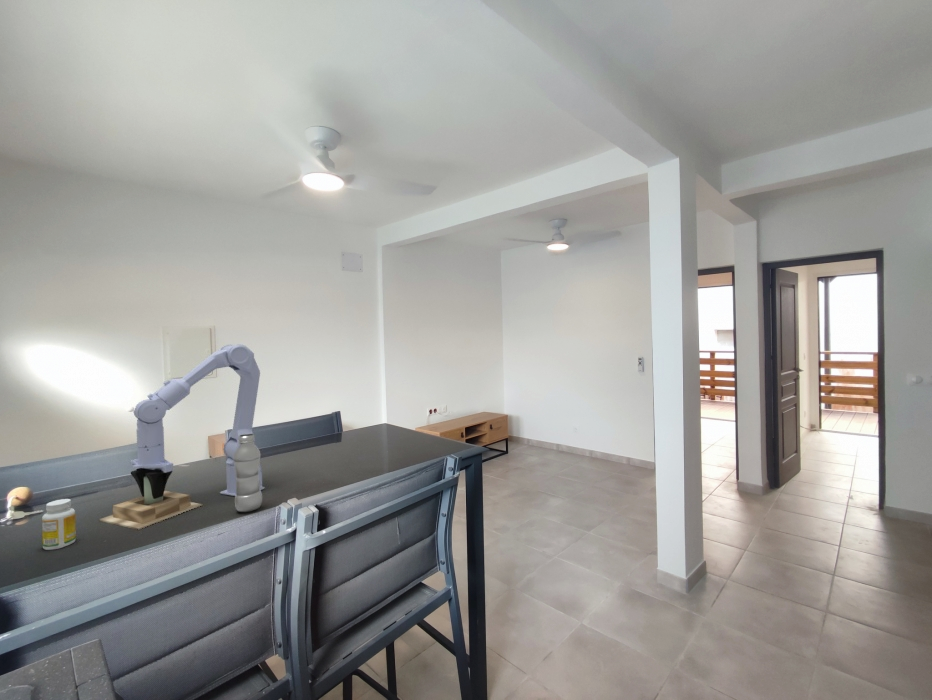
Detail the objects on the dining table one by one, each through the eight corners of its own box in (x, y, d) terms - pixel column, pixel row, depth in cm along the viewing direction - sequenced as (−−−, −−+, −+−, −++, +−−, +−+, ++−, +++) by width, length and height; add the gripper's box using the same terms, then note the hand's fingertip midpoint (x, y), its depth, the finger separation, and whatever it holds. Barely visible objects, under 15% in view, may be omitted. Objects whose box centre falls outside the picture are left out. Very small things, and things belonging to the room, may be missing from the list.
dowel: (167, 503, 114) (166, 474, 114) (153, 509, 110) (152, 478, 110) (154, 503, 114) (153, 473, 114) (140, 508, 111) (139, 478, 110)
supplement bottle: (44, 553, 91) (42, 508, 91) (41, 545, 94) (39, 502, 94) (78, 543, 95) (76, 501, 95) (74, 537, 98) (72, 495, 98)
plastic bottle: (268, 506, 114) (266, 433, 114) (247, 516, 108) (245, 438, 108) (249, 504, 117) (247, 431, 116) (228, 513, 110) (226, 437, 110)
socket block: (202, 505, 116) (202, 493, 116) (139, 530, 101) (138, 515, 101) (164, 498, 122) (164, 487, 122) (99, 520, 107) (98, 507, 107)
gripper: (116, 446, 111) (118, 498, 111) (152, 450, 105) (154, 505, 105) (145, 440, 117) (147, 489, 117) (180, 444, 112) (182, 495, 112)
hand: (152, 496), depth 112 cm, fingers closed on dowel, 4 cm apart
